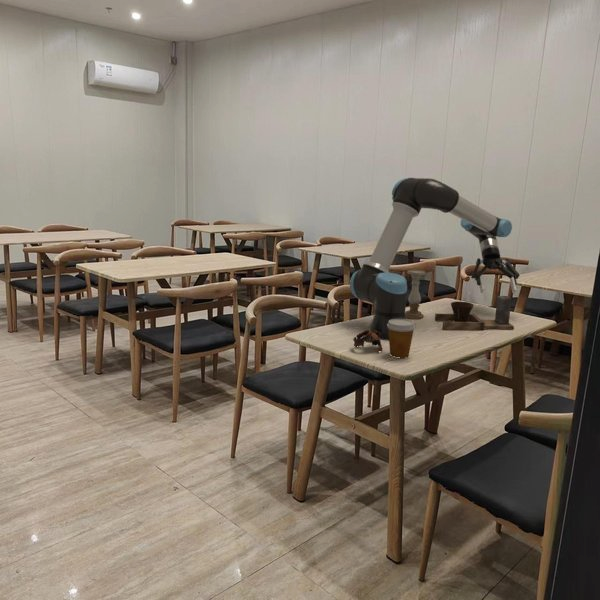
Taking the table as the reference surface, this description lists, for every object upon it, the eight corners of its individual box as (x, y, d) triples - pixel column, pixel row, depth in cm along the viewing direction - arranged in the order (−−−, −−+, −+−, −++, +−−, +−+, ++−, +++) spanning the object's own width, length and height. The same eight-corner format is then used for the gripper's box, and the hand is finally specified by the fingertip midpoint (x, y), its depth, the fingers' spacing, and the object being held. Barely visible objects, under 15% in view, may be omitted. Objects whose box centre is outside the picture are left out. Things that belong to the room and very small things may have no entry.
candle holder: (400, 314, 242) (402, 269, 237) (418, 313, 243) (421, 269, 239) (408, 319, 233) (411, 273, 229) (427, 319, 235) (430, 272, 230)
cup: (478, 327, 221) (476, 303, 219) (456, 330, 221) (454, 306, 219) (470, 322, 230) (468, 299, 228) (449, 325, 229) (447, 302, 227)
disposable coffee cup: (418, 355, 187) (420, 321, 185) (404, 362, 180) (406, 327, 178) (394, 349, 193) (396, 316, 191) (380, 355, 186) (381, 322, 184)
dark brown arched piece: (379, 357, 186) (367, 337, 185) (357, 363, 192) (346, 344, 191) (391, 340, 195) (380, 321, 194) (370, 346, 201) (359, 328, 200)
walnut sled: (442, 329, 219) (445, 299, 216) (434, 320, 232) (436, 292, 230) (515, 330, 218) (518, 301, 216) (503, 321, 232) (506, 293, 229)
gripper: (515, 256, 245) (524, 296, 234) (460, 255, 245) (466, 295, 234) (521, 246, 239) (531, 286, 228) (464, 245, 239) (471, 286, 228)
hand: (498, 291), depth 231 cm, fingers open, 13 cm apart
